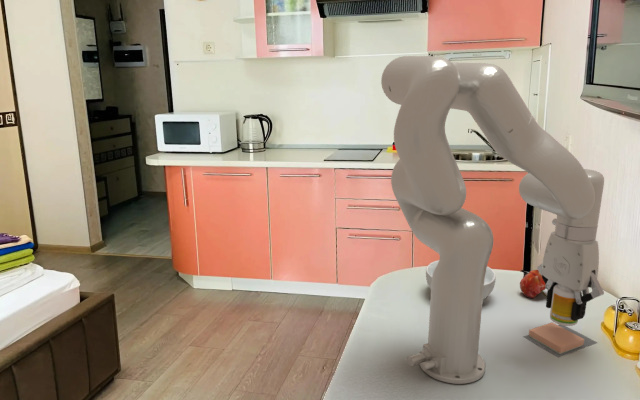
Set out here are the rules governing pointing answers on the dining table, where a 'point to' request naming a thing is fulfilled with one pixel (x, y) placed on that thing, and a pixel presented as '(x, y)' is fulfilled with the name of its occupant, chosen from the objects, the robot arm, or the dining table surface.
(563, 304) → the supplement bottle
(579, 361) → the dining table surface
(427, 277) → the cereal bowl
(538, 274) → the pomegranate
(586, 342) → the rubber mat
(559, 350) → the tile
